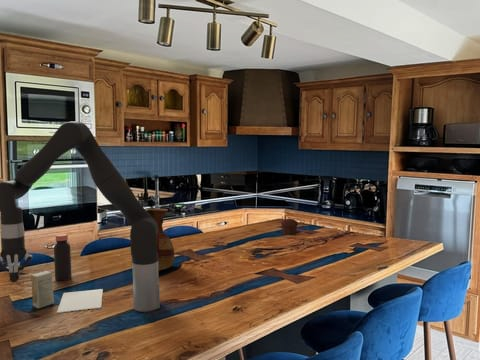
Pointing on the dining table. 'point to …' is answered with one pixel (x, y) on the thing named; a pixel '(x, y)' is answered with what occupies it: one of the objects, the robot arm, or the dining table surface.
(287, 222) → the muffin
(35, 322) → the dining table surface
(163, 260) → the brown vase
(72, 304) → the mat
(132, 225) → the robot arm
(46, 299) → the skincare box
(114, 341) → the dining table surface
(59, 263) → the vinegar
